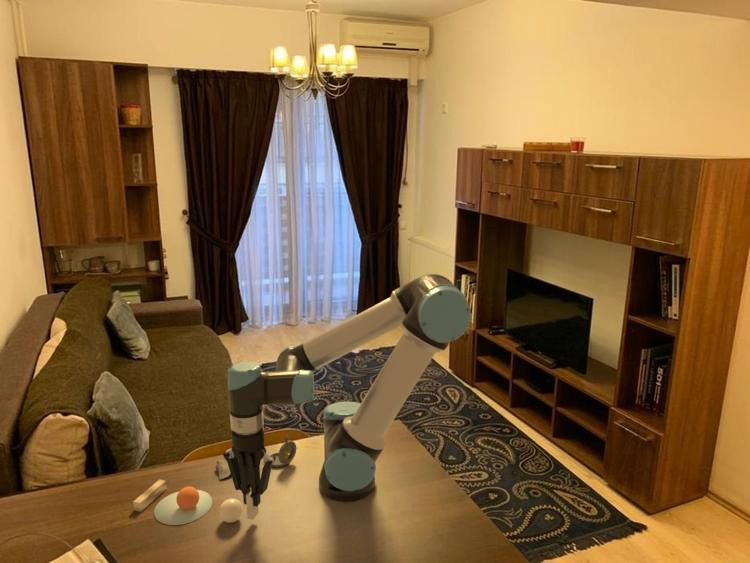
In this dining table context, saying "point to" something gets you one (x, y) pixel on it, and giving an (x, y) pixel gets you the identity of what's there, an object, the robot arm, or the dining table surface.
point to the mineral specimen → (223, 468)
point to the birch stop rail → (149, 495)
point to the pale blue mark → (174, 515)
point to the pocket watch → (285, 453)
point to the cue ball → (231, 510)
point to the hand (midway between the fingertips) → (252, 515)
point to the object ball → (187, 498)
